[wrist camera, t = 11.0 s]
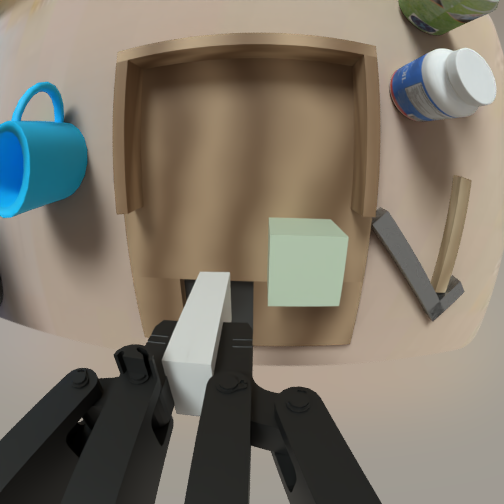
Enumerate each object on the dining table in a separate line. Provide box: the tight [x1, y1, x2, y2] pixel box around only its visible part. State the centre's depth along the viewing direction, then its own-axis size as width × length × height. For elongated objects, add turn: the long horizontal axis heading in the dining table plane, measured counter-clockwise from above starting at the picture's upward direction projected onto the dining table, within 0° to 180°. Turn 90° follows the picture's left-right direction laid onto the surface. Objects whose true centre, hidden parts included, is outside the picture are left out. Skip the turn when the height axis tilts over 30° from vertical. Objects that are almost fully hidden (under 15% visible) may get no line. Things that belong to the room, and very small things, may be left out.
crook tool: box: [371, 207, 464, 321], centre depth 23 cm, size 5×14×2 cm, turn 43°
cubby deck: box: [113, 33, 380, 346], centre depth 21 cm, size 21×26×4 cm
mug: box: [0, 82, 87, 218], centre depth 17 cm, size 12×8×8 cm
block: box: [267, 217, 349, 306], centre depth 20 cm, size 5×5×5 cm
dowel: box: [431, 175, 471, 293], centre depth 22 cm, size 2×12×2 cm, turn 175°
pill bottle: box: [389, 48, 496, 122], centre depth 14 cm, size 6×5×10 cm
